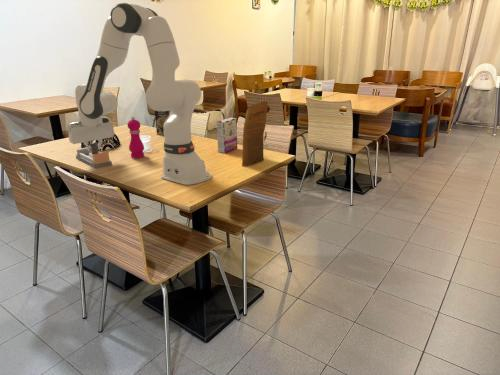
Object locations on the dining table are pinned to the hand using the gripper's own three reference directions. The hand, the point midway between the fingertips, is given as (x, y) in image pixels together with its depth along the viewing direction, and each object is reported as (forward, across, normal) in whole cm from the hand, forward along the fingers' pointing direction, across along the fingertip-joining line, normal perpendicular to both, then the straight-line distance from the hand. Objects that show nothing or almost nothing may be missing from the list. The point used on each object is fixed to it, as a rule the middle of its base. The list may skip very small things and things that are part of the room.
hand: (94, 149), depth 179 cm
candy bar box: (+7, +58, -29) cm, 65 cm away
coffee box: (+7, +56, +27) cm, 63 cm away
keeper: (+5, 0, 0) cm, 5 cm away
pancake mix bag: (+7, +53, -53) cm, 76 cm away
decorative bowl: (+7, +15, +28) cm, 32 cm away
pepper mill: (+7, +19, -5) cm, 21 cm away
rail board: (+6, 0, +3) cm, 7 cm away
